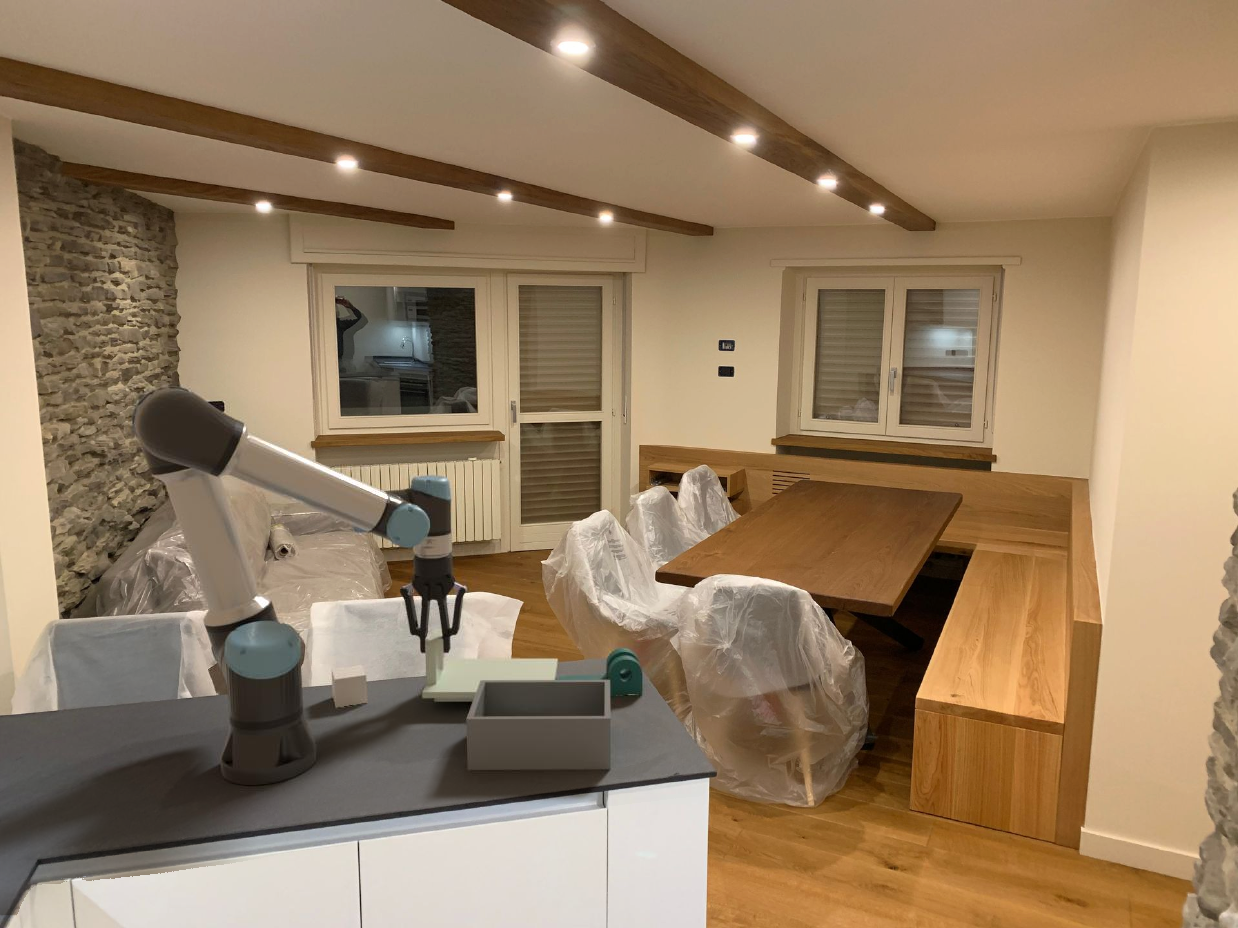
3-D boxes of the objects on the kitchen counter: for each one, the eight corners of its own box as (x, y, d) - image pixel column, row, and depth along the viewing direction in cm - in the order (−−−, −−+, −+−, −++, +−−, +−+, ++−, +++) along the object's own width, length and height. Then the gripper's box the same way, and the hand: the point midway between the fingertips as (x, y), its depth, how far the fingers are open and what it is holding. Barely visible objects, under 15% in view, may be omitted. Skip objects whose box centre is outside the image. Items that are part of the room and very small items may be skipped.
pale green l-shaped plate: (422, 705, 173) (420, 652, 171) (439, 670, 190) (438, 622, 189) (552, 705, 173) (552, 651, 171) (557, 670, 191) (557, 622, 189)
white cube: (336, 708, 176) (334, 679, 175) (332, 697, 181) (331, 669, 180) (367, 703, 178) (366, 674, 177) (363, 692, 183) (362, 664, 183)
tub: (467, 769, 151) (466, 719, 149) (481, 726, 168) (480, 680, 166) (610, 769, 151) (610, 718, 150) (610, 725, 168) (610, 679, 167)
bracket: (638, 683, 189) (638, 647, 188) (642, 695, 182) (642, 658, 181) (552, 686, 187) (552, 650, 186) (553, 699, 180) (553, 662, 179)
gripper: (390, 558, 174) (394, 674, 177) (468, 558, 174) (470, 674, 177) (398, 549, 181) (402, 661, 184) (473, 549, 181) (476, 660, 185)
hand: (436, 667), depth 181 cm, fingers closed on pale green l-shaped plate, 2 cm apart
